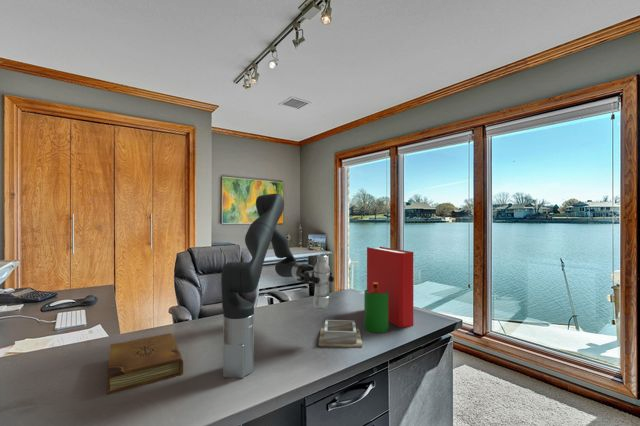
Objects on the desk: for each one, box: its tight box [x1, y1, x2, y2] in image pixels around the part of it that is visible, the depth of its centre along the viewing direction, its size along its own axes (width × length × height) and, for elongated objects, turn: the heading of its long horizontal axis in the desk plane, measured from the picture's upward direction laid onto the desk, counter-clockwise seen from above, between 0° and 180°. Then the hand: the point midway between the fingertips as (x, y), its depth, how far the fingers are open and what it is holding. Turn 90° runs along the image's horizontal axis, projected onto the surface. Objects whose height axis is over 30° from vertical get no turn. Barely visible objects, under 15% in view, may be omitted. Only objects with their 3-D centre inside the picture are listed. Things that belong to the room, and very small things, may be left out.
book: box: [366, 246, 414, 328], centre depth 144 cm, size 27×8×32 cm, turn 23°
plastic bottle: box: [312, 254, 331, 309], centre depth 116 cm, size 6×7×20 cm
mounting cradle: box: [318, 319, 363, 348], centre depth 119 cm, size 16×16×5 cm
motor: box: [363, 282, 390, 334], centre depth 129 cm, size 10×9×20 cm
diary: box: [106, 333, 184, 395], centre depth 96 cm, size 23×19×6 cm
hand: (325, 280), depth 114 cm, fingers closed on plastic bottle, 6 cm apart
